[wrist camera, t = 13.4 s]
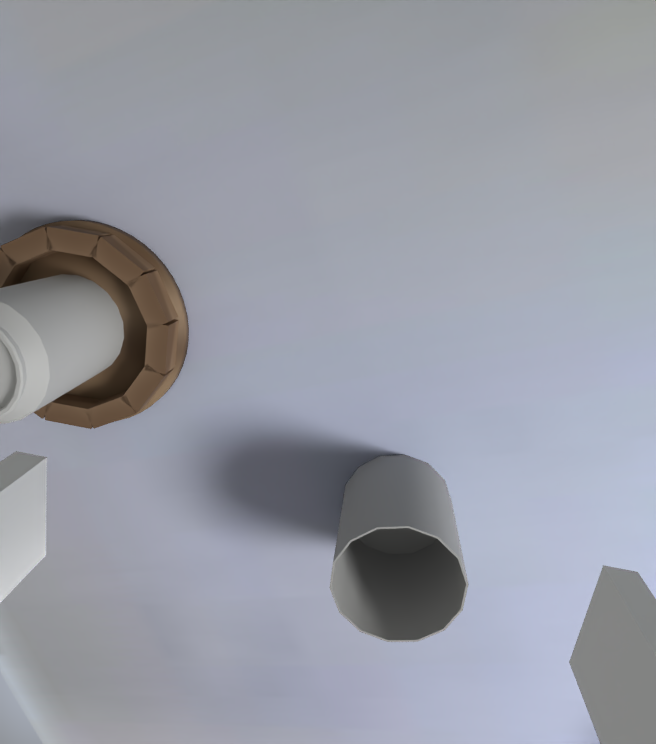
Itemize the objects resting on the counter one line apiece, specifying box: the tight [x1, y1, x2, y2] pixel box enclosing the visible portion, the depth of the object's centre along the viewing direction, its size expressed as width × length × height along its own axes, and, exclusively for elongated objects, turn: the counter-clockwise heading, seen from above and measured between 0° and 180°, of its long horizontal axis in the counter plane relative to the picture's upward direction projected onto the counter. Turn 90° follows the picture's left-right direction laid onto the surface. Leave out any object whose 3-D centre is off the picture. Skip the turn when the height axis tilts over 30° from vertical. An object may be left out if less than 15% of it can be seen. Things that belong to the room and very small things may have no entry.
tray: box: [0, 220, 189, 429], centre depth 42 cm, size 15×15×3 cm
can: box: [0, 274, 124, 424], centre depth 36 cm, size 8×8×12 cm
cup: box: [330, 455, 468, 642], centre depth 40 cm, size 8×8×10 cm
